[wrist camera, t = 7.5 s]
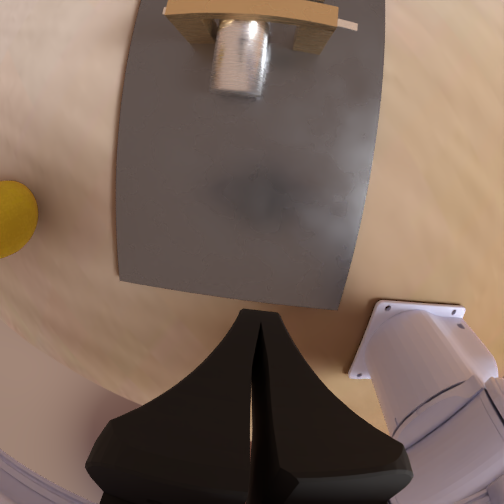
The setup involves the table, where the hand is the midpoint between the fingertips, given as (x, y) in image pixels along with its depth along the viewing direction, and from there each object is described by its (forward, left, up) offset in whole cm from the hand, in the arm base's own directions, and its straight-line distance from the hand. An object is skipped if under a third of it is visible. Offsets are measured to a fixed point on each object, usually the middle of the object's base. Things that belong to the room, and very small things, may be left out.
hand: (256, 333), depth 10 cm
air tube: (+2, -16, -9) cm, 18 cm away
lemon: (+19, -1, -10) cm, 21 cm away
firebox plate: (+2, -9, -9) cm, 13 cm away
